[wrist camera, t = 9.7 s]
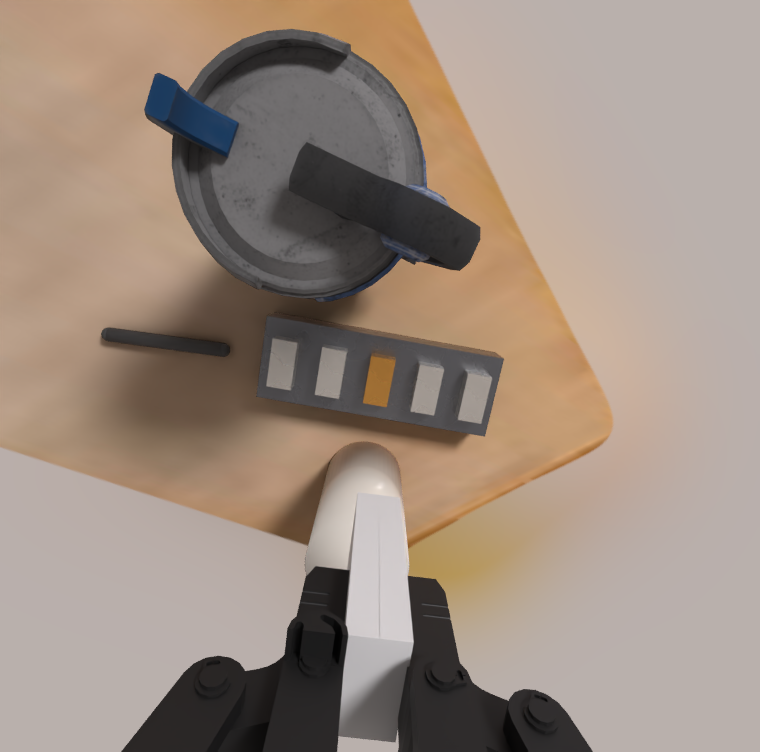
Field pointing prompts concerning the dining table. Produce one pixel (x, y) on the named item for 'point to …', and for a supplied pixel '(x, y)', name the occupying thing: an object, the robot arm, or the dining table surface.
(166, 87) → the beverage bottle
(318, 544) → the white glossy cylinder
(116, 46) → the dining table surface
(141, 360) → the dining table surface
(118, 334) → the dark gray rod
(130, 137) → the dining table surface
